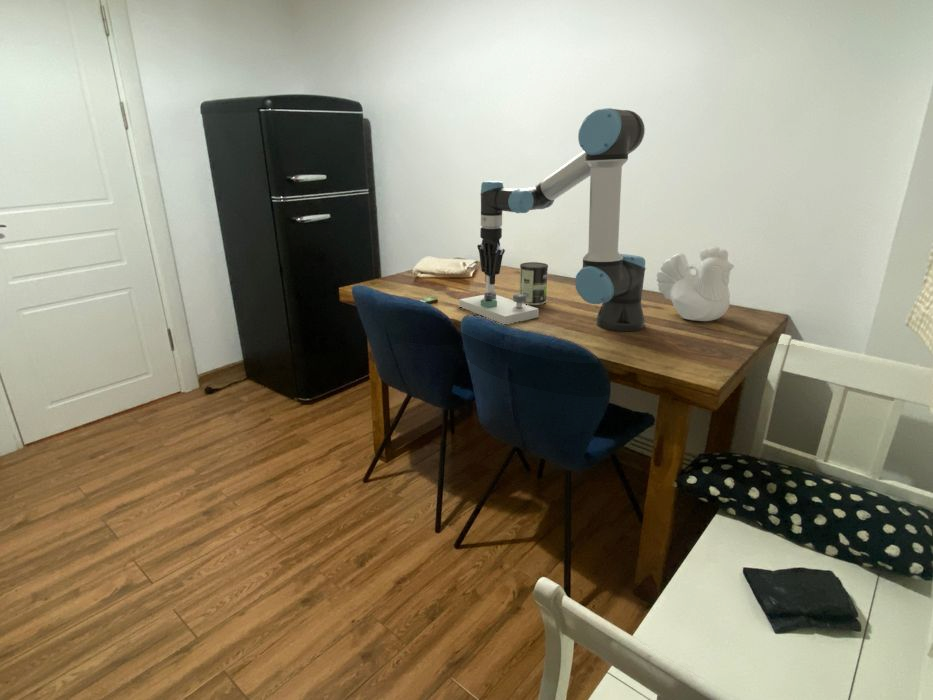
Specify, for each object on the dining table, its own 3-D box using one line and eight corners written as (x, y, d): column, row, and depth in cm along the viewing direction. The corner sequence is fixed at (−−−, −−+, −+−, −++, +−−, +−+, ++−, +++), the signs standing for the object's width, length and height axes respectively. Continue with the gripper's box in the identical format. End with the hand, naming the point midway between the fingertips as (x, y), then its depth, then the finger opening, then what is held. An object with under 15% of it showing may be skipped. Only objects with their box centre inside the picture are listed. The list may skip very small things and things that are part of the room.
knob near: (528, 309, 187) (528, 295, 185) (518, 311, 185) (518, 297, 183) (519, 306, 190) (520, 293, 189) (510, 308, 188) (510, 295, 186)
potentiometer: (496, 306, 189) (497, 296, 188) (487, 308, 187) (487, 297, 186) (489, 303, 192) (489, 293, 191) (480, 305, 190) (480, 295, 189)
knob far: (498, 305, 200) (498, 293, 198) (489, 307, 198) (489, 295, 196) (491, 303, 203) (491, 291, 202) (481, 305, 201) (481, 292, 199)
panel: (538, 317, 187) (538, 308, 186) (504, 325, 179) (505, 316, 178) (491, 300, 207) (491, 293, 206) (459, 307, 199) (459, 299, 197)
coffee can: (547, 298, 210) (548, 262, 205) (545, 306, 200) (547, 268, 195) (520, 297, 212) (521, 261, 207) (517, 304, 202) (518, 267, 197)
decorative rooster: (736, 321, 182) (749, 247, 173) (706, 329, 174) (718, 252, 166) (674, 304, 202) (684, 236, 193) (645, 310, 194) (653, 240, 186)
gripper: (471, 225, 193) (471, 290, 202) (494, 230, 183) (493, 297, 192) (488, 223, 197) (487, 287, 206) (511, 228, 188) (509, 294, 196)
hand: (489, 292), depth 199 cm, fingers closed
